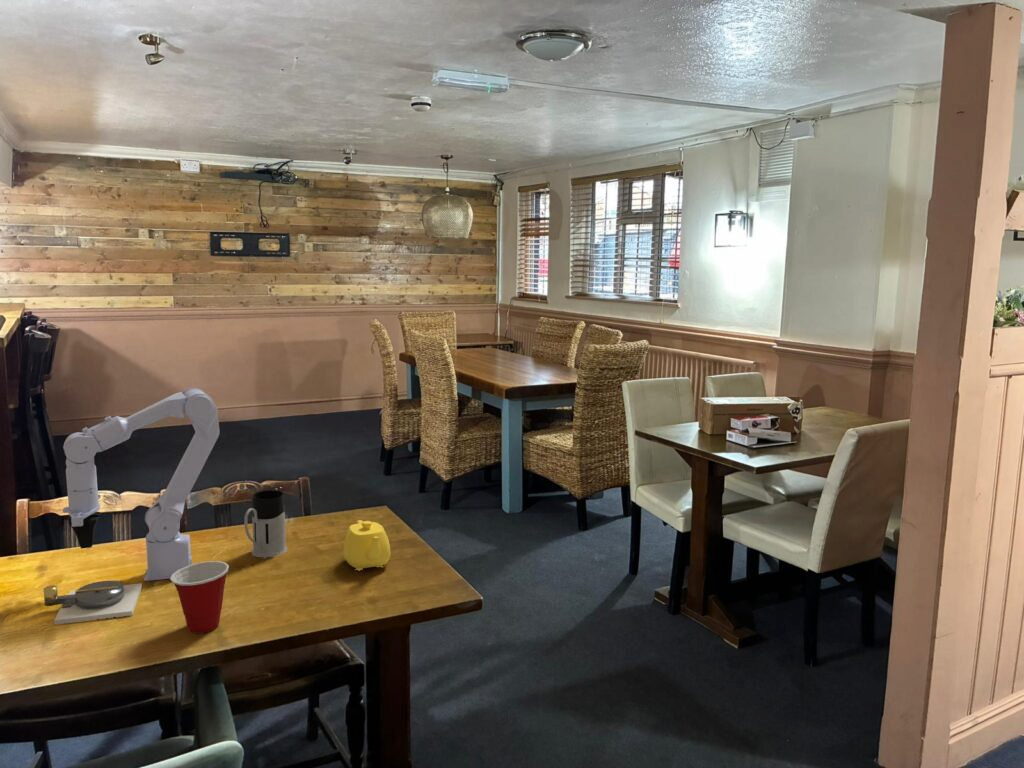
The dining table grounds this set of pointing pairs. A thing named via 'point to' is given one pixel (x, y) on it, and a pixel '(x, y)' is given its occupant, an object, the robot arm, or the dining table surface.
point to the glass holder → (267, 524)
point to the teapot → (366, 545)
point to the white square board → (100, 608)
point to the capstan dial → (87, 595)
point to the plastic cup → (201, 594)
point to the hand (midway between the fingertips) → (86, 547)
